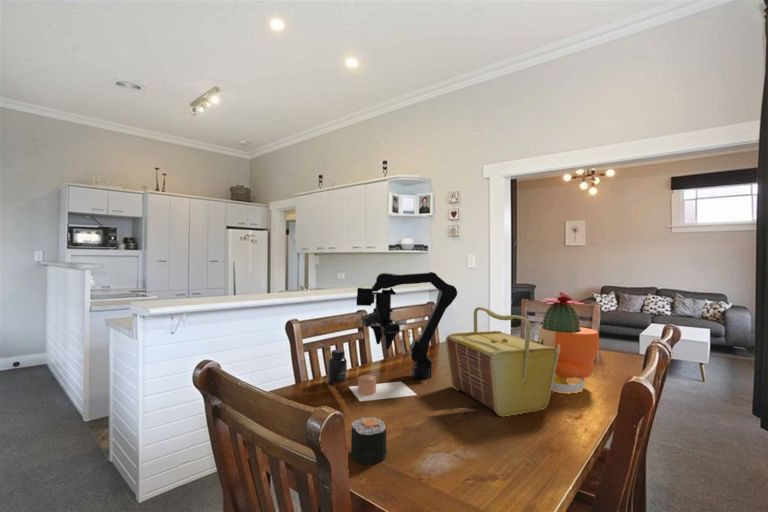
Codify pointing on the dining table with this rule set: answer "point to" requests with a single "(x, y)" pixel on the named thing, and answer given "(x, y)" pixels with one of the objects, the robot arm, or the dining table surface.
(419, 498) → the dining table surface
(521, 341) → the picnic basket
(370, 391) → the terracotta cap
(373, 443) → the sushi
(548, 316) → the potted cactus
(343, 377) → the supplement bottle
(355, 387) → the off-white board
